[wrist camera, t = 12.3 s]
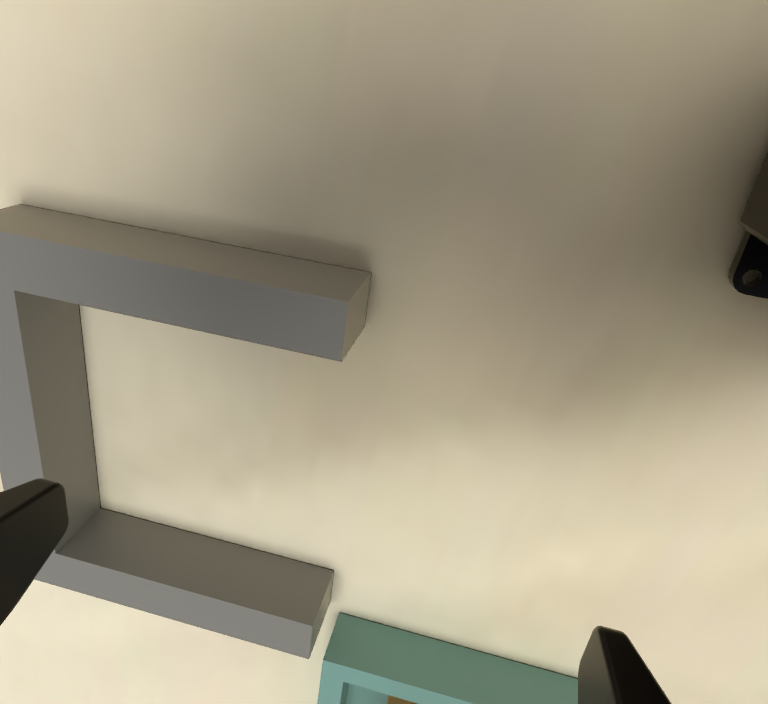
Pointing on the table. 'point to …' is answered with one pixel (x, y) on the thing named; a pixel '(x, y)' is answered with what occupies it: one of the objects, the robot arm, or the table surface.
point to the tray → (427, 671)
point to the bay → (73, 421)
